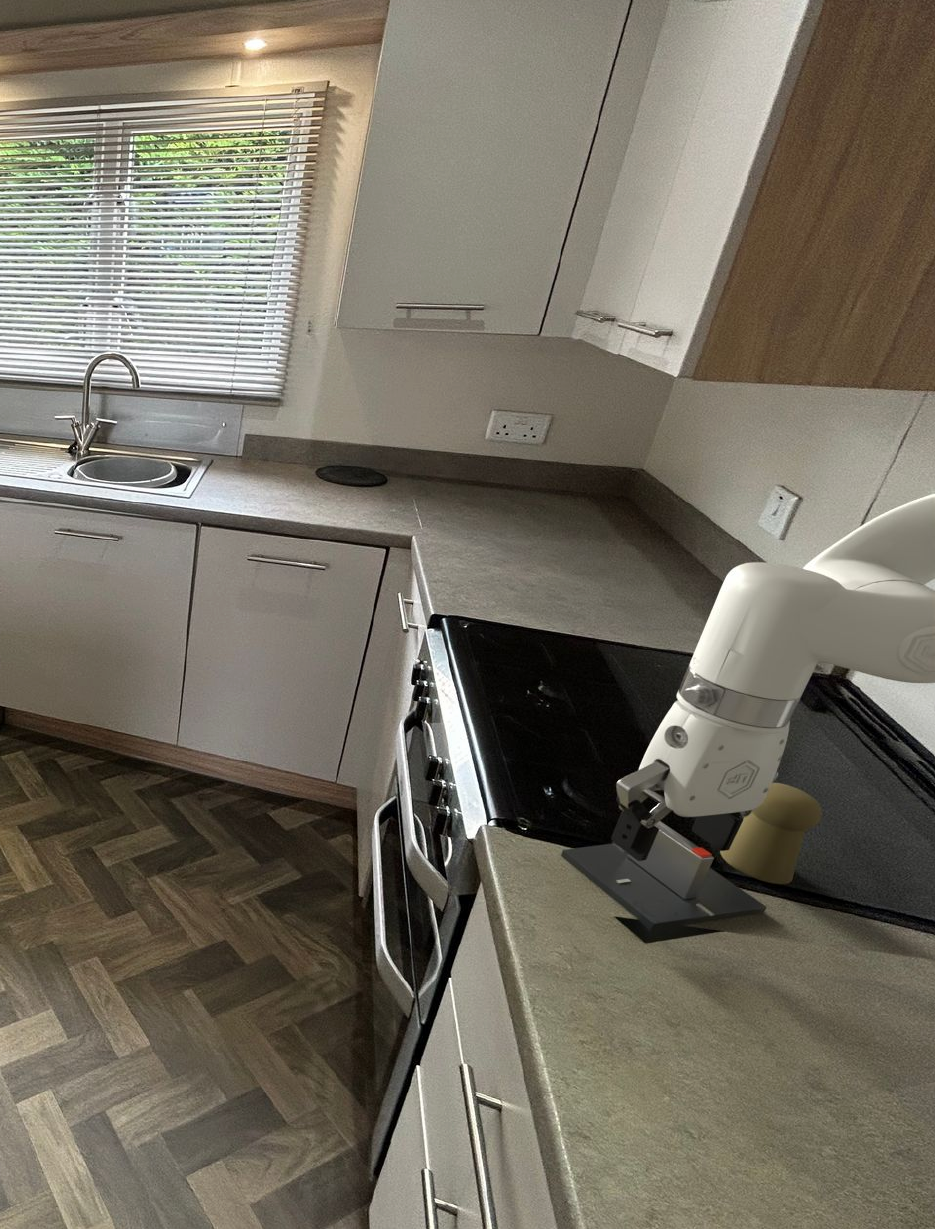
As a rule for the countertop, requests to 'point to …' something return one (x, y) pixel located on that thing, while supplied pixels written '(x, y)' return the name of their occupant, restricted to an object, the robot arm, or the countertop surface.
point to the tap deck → (659, 895)
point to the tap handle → (676, 862)
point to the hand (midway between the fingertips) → (668, 845)
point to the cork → (773, 835)
